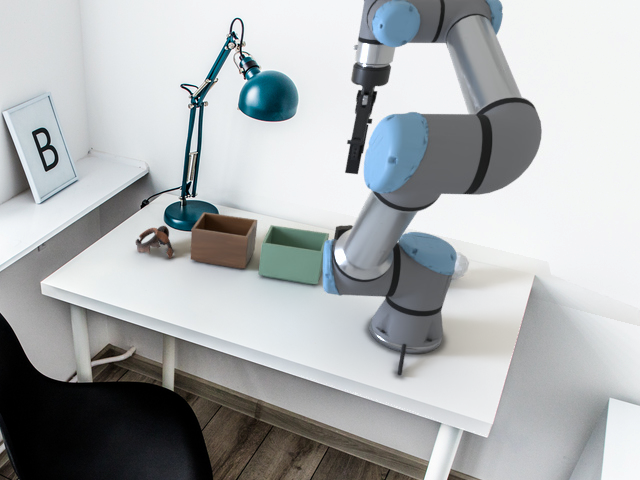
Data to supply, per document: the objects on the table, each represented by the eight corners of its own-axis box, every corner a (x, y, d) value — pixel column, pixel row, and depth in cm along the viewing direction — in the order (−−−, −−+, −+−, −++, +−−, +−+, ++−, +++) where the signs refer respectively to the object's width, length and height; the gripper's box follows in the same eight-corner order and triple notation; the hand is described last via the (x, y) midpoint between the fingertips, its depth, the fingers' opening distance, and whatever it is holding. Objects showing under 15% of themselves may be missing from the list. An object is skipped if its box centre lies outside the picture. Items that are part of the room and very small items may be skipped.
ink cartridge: (349, 251, 179) (354, 224, 174) (351, 255, 177) (357, 228, 173) (331, 252, 179) (336, 225, 174) (333, 255, 177) (338, 229, 173)
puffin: (442, 250, 169) (418, 273, 163) (467, 244, 163) (443, 268, 157) (453, 272, 170) (430, 295, 165) (478, 267, 164) (455, 291, 159)
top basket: (316, 288, 164) (322, 252, 158) (258, 277, 169) (261, 243, 163) (323, 267, 172) (329, 233, 166) (266, 258, 177) (270, 225, 171)
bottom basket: (244, 271, 171) (248, 237, 166) (190, 262, 176) (191, 229, 170) (254, 253, 180) (257, 219, 174) (201, 244, 184) (203, 212, 178)
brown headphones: (169, 265, 176) (154, 243, 172) (142, 272, 182) (127, 250, 178) (183, 237, 183) (169, 214, 178) (157, 243, 189) (142, 222, 184)
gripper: (359, 49, 146) (343, 143, 158) (348, 76, 127) (330, 180, 139) (394, 51, 144) (375, 146, 156) (388, 79, 125) (367, 184, 137)
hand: (354, 162), depth 148 cm, fingers open, 13 cm apart
